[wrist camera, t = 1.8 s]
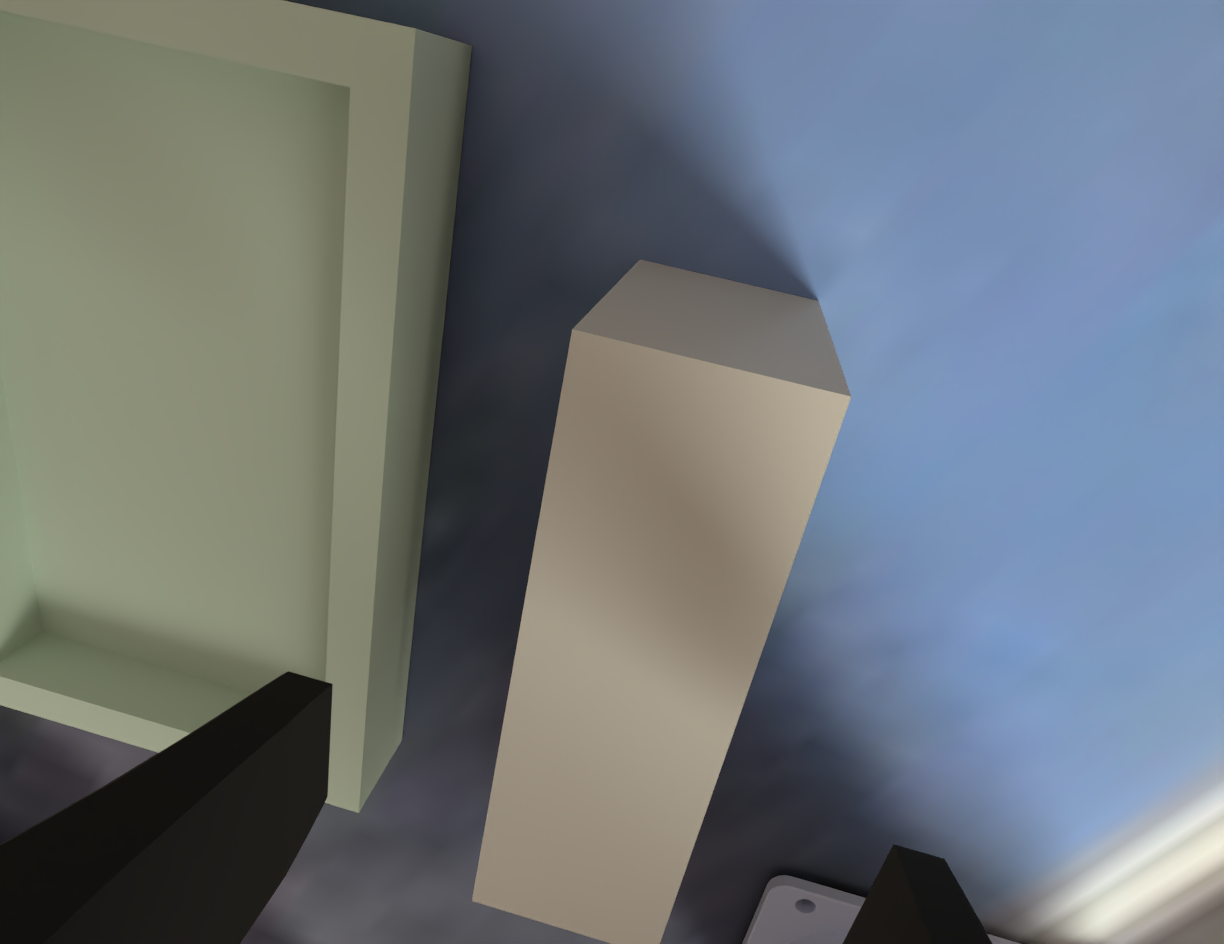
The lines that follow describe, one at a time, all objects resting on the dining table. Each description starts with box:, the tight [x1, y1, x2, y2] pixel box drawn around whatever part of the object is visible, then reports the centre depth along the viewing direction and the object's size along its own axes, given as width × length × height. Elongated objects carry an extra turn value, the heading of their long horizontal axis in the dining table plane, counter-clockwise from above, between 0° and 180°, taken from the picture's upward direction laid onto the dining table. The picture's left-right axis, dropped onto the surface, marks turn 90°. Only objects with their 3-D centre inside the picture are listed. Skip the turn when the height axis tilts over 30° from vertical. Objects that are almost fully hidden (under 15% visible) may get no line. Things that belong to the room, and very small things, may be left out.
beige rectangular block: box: [472, 260, 851, 944], centre depth 14 cm, size 4×11×6 cm, turn 169°
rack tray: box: [0, 0, 472, 813], centre depth 17 cm, size 11×17×2 cm, turn 169°
